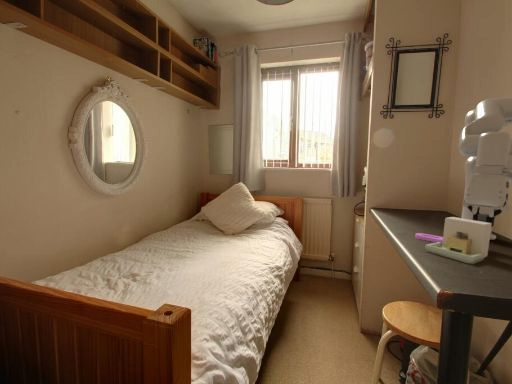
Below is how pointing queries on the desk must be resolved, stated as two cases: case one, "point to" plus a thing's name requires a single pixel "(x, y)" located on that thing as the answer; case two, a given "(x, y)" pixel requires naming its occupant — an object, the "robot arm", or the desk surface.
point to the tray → (454, 253)
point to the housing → (469, 233)
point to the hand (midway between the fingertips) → (482, 227)
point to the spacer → (459, 244)
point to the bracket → (429, 237)
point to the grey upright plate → (480, 218)
